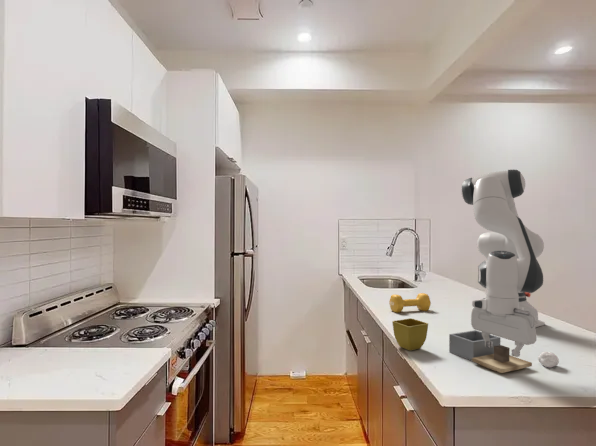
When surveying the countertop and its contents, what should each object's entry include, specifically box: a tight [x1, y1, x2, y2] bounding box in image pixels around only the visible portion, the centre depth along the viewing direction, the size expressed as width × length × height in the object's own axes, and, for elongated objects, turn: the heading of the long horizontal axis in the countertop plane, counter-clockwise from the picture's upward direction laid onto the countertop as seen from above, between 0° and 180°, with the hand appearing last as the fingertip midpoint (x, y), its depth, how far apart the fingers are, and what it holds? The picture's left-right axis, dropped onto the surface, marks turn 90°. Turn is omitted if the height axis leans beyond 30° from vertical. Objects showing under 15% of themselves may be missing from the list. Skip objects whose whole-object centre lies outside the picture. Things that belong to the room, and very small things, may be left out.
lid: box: [471, 344, 533, 374], centre depth 127 cm, size 13×11×6 cm
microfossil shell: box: [537, 351, 560, 368], centre depth 128 cm, size 4×5×6 cm
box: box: [448, 329, 501, 362], centre depth 138 cm, size 12×10×6 cm
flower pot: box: [392, 318, 429, 352], centre depth 145 cm, size 9×9×9 cm
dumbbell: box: [389, 292, 432, 314], centre depth 203 cm, size 19×9×8 cm, turn 104°
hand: (501, 351), depth 127 cm, fingers open, 8 cm apart
